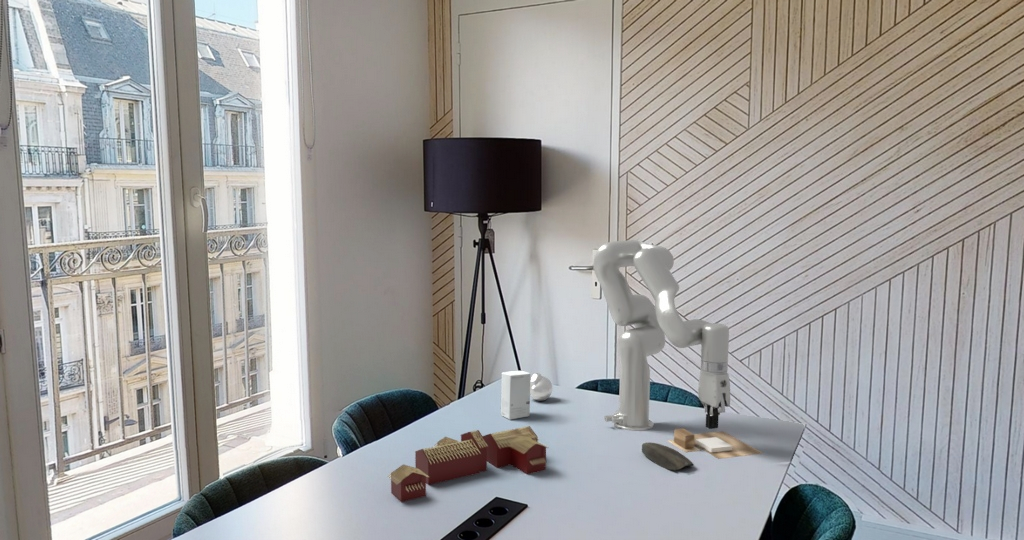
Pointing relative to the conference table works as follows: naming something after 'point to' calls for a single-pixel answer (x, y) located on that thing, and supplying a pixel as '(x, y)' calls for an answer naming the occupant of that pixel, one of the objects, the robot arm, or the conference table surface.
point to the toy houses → (468, 459)
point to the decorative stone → (665, 456)
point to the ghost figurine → (540, 387)
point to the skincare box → (515, 394)
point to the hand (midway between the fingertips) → (711, 427)
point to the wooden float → (684, 440)
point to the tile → (714, 444)
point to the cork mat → (737, 445)
